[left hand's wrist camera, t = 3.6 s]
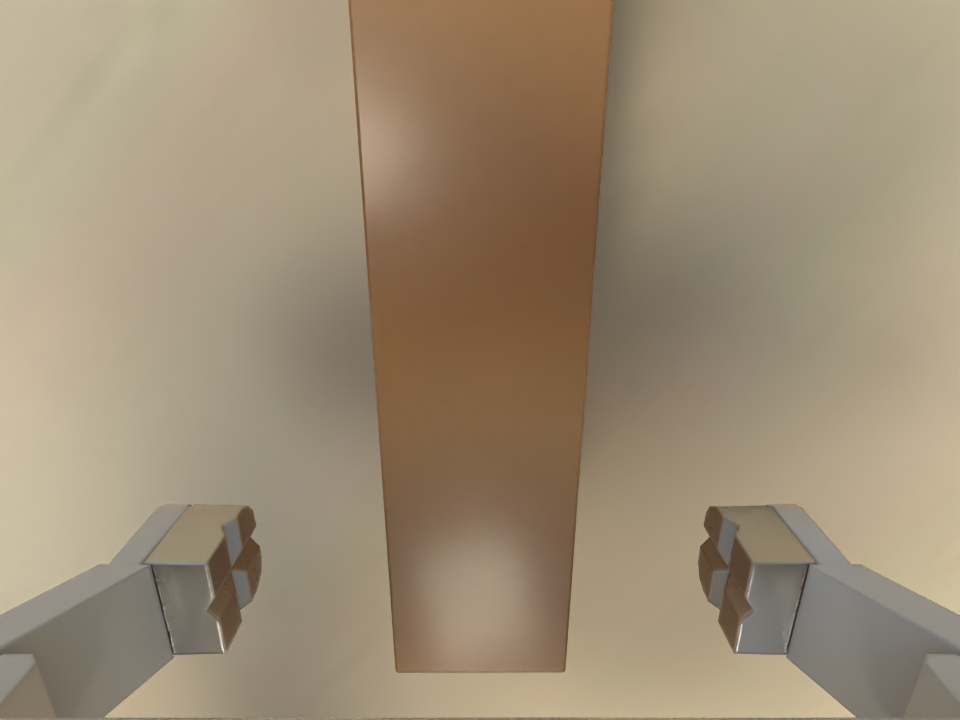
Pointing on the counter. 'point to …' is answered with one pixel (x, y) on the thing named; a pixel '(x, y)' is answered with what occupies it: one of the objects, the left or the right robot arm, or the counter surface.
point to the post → (480, 311)
